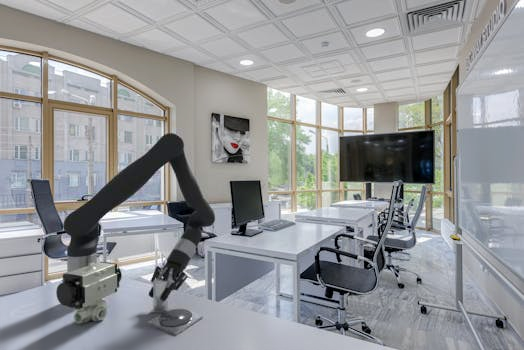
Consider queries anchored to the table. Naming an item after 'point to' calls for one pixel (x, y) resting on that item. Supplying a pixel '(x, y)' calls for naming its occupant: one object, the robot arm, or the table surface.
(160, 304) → the grey cylinder
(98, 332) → the table surface
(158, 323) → the flange
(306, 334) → the table surface
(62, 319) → the table surface
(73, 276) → the ball valve
